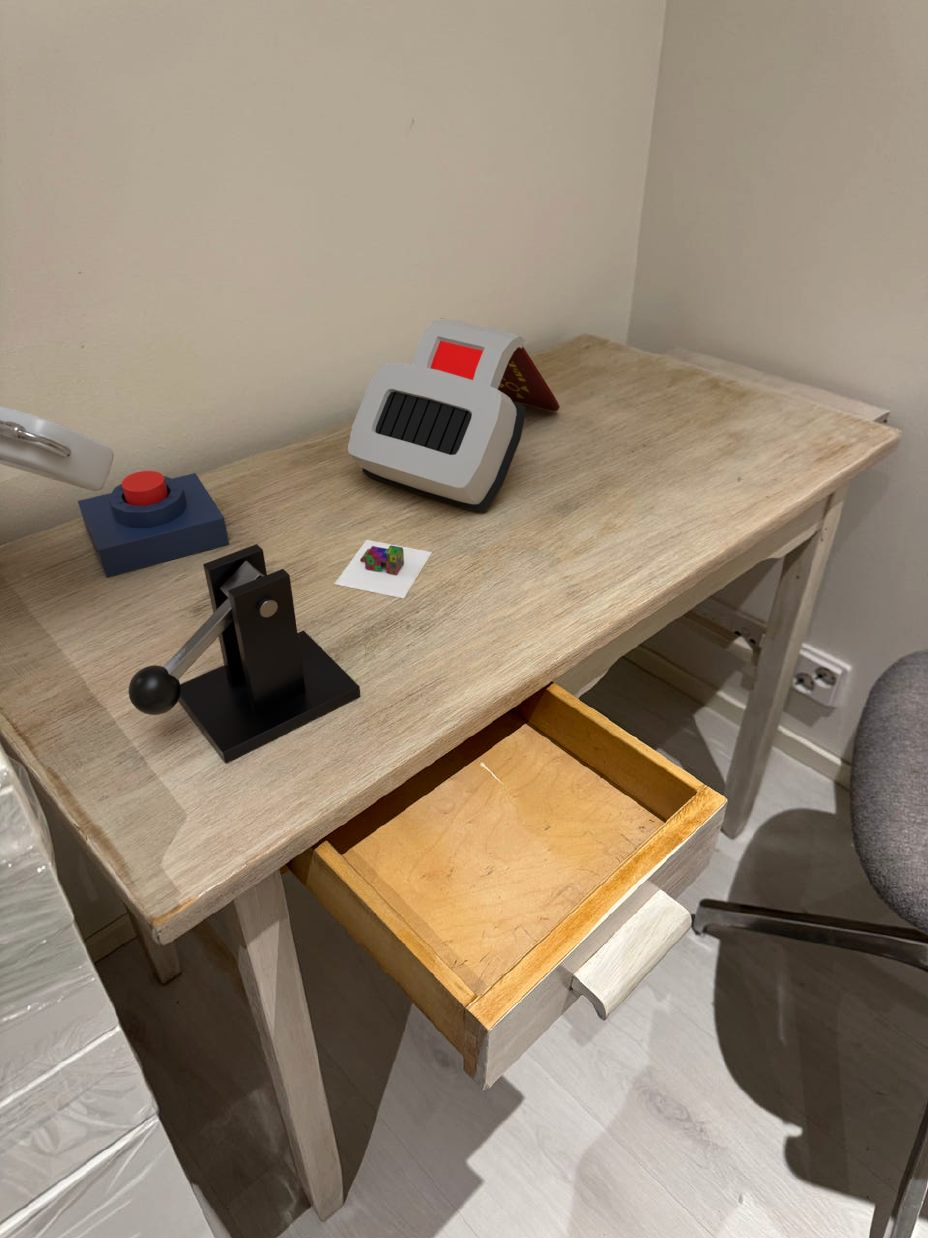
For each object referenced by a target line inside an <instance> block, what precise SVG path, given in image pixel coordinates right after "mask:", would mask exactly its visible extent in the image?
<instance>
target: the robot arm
mask: <svg viewBox="0 0 928 1238" xmlns="http://www.w3.org/2000/svg"><path fill="white" fill-rule="evenodd" d="M113 461H114V452H113V449H112V448H111V447H110V446H108V445H106V444H105V443H102V442H100V441H99V440H96V439H94V438H92V437H90V436H88V435H85V434H83V433H81V432H79V431H76V430H75V429H72V428H70V427H67V426H66V425H63V424H60V423H58V422H57V421H53V420H51V419H48V418H46V417H43V416H39V415H38V414H33V413H30V412H26V411H22V410H19V409H14V408H11V407H7V406H4V405H0V465H2V466H5V467H9V468H13V469H16V470H20V471H23V472H26V473H30V474H33V475H37V476H40V477H44V478H48V479H50V480H54V481H58V482H60V483H64V484H68V485H71V486H75V487H78V488H81V489H85V490H89V491H93V492H98V491H101V490H102V489H103V487H104V486H105V484H106V481H107V479H108V477H109V475H110V472H111V469H112V466H113V465H112V464H113Z"/></svg>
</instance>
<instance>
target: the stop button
mask: <svg viewBox="0 0 928 1238" xmlns="http://www.w3.org/2000/svg"><path fill="white" fill-rule="evenodd" d="M164 476H165V475H164V474H162V473H161V472H159V471H156V470H141V471H137V472H132V473H130V474H128V475H127V476H126V477H123V480H122V481H121V484H122V488H123V492H124V495H125V499H126V502H127V503H128V504H130V505H133V506H147V505H151V504H155V503H158V502H160V501H162V500H163V499H165V498H166V497H167V495H168V492H167V487H166V483H165V478H164Z"/></svg>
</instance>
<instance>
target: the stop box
mask: <svg viewBox="0 0 928 1238" xmlns="http://www.w3.org/2000/svg"><path fill="white" fill-rule="evenodd" d="M163 476H164V478H165V483H166V487H167V492H168V495H167V497H166V498H165V499H163V500H162V501H160V502H158V503H155V504H151V505H147V506H133V505H130V504H128V503H127V502H126V499H125V495H124V492H123V488H122V483H121V484H119V485H117V486H116V487H114V488H113V489H112V491H111V492H110V493H106V494H105V493H104V494H101V495H97V496H93V497H89V498H84V499H79V500H77V504H78V508H79V510H80V513H81V517H82V520H83V523H84V527H85V529H86V532H87V534H88V536H89V539H90V542H91V544H92V546H93V548H94V551H95V554H96V556H97V558H98V560H99V563H100V565H101V568H102V570H103V573H104V575H105V577H106V578H111V577H114V576H118V575H122V574H126V573H129V572H133V571H136V570H140V569H144V568H147V567H151V566H155V565H158V564H163V563H166V562H169V561H173V560H177V559H181V558H184V557H188V556H192V555H195V554H199V553H202V552H207V551H210V550H213V549H217V548H221V547H224V546H225V547H226V546H228V545H230V541H229V536H228V531H227V526H226V520H225V517H224V515H223V514H222V512H221V510H220V508H219V507H218V506H217V505H216V503H215V501H214V499H213V498H212V496H211V495H210V493H209V492H208V491H207V489H206V487H205V486H204V484H203V482H202V481H201V480H200V478H199V476H198V475H197V473H195V472H193V473H190V474H186V475H181V476H178V477H173V478H172V477H170V476H165V475H163Z"/></svg>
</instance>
